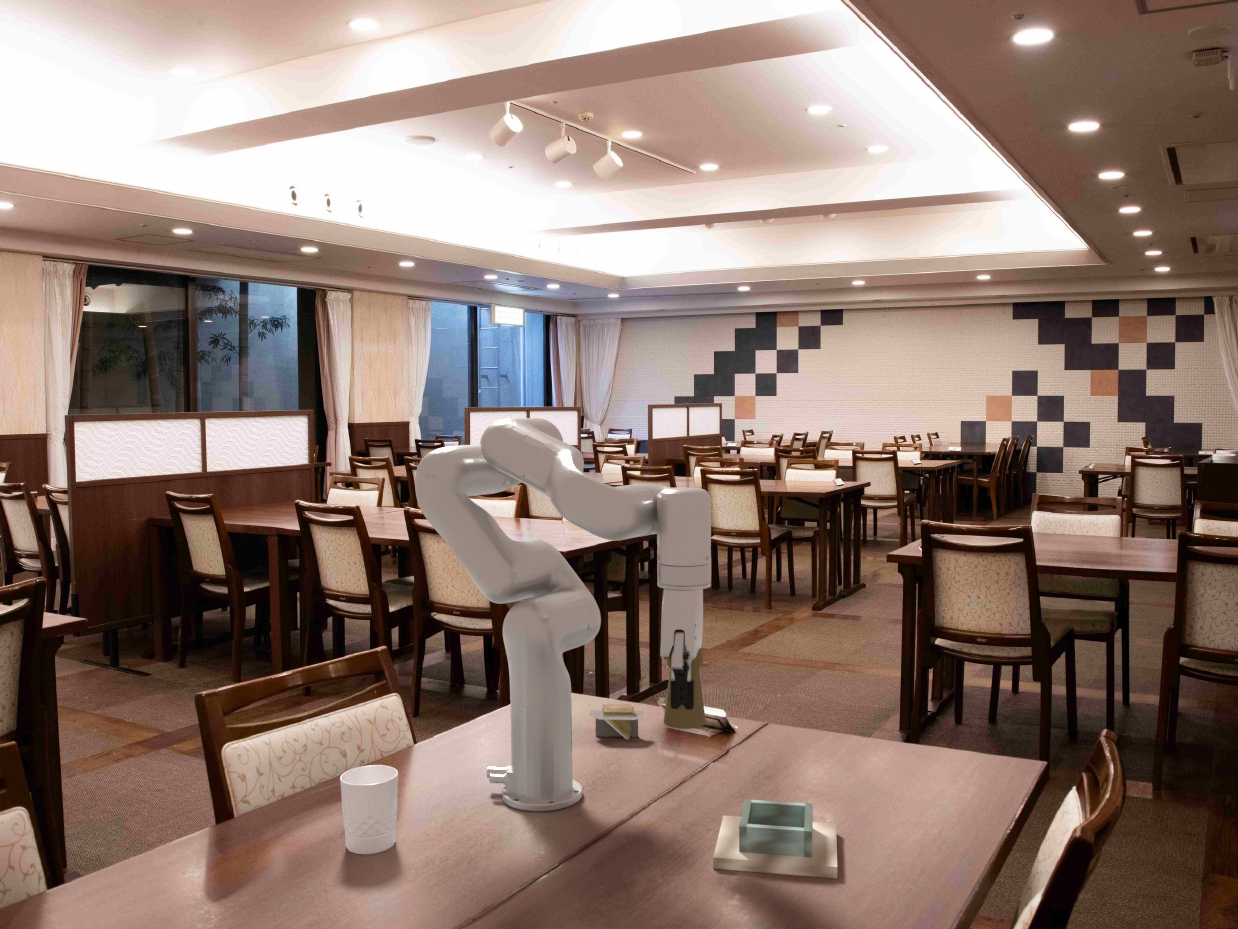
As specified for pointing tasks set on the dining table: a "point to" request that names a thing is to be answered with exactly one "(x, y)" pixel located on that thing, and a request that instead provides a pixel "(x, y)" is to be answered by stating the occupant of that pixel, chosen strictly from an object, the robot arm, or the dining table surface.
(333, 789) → the dining table surface
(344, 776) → the white cup
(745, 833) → the shaker caddy
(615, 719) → the platform
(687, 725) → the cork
